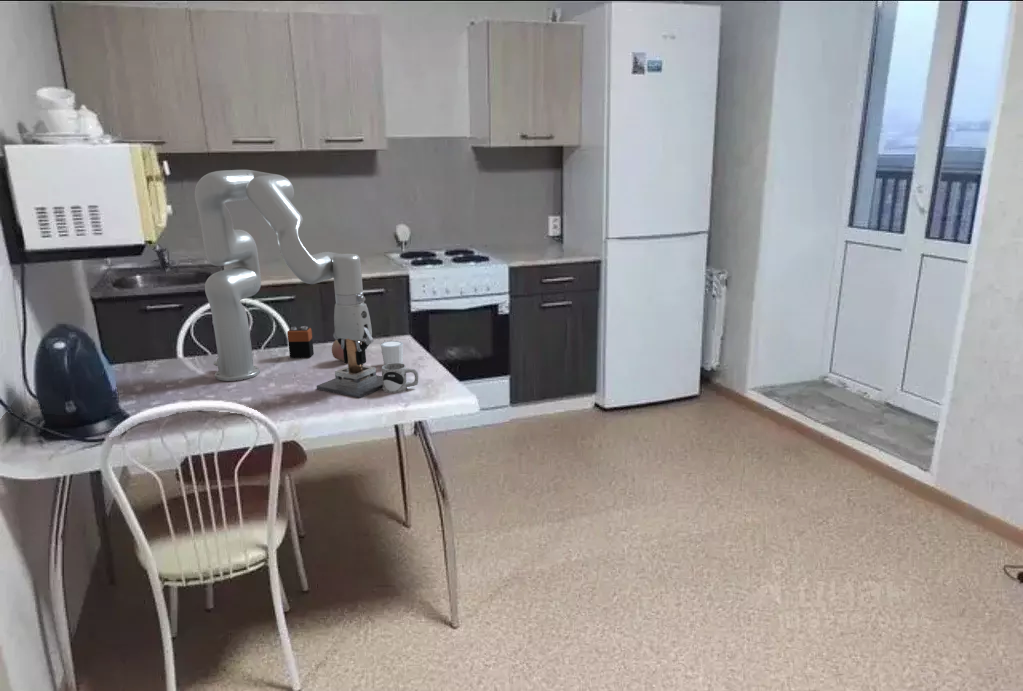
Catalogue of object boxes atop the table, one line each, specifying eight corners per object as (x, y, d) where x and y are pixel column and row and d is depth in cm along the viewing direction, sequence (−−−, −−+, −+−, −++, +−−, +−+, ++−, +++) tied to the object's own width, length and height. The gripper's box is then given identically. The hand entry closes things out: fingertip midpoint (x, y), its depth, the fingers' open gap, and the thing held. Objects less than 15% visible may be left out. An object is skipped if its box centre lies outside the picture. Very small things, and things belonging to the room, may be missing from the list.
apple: (354, 365, 220) (352, 340, 218) (330, 365, 220) (328, 341, 218) (360, 358, 228) (358, 334, 226) (336, 358, 228) (334, 334, 226)
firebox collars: (316, 389, 199) (315, 372, 198) (353, 374, 212) (352, 358, 210) (360, 398, 191) (358, 381, 190) (395, 382, 204) (394, 366, 202)
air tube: (356, 370, 203) (353, 333, 200) (367, 372, 201) (364, 334, 198) (345, 374, 200) (342, 336, 197) (356, 376, 198) (353, 338, 195)
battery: (310, 358, 228) (307, 328, 226) (289, 358, 228) (286, 328, 226) (314, 354, 233) (311, 325, 230) (293, 354, 233) (290, 325, 230)
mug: (381, 393, 195) (379, 370, 193) (384, 385, 201) (383, 363, 199) (417, 392, 195) (416, 369, 193) (420, 384, 201) (418, 362, 200)
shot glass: (405, 361, 223) (404, 340, 221) (403, 368, 216) (401, 346, 214) (383, 362, 223) (382, 340, 221) (380, 369, 216) (379, 347, 214)
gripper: (382, 299, 194) (387, 363, 199) (336, 294, 202) (342, 355, 207) (363, 304, 187) (369, 370, 192) (317, 299, 196) (323, 362, 200)
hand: (355, 362), depth 199 cm, fingers closed on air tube, 4 cm apart
